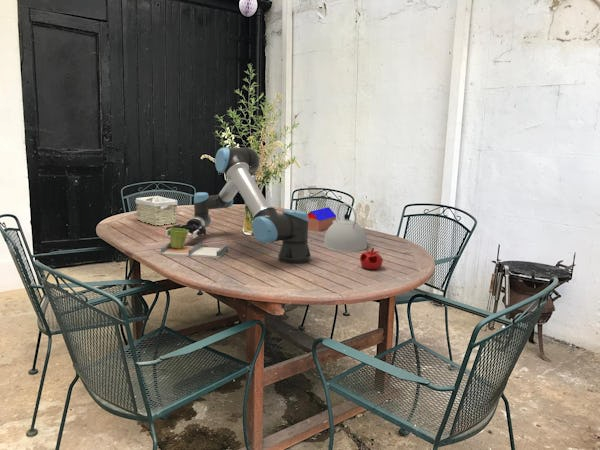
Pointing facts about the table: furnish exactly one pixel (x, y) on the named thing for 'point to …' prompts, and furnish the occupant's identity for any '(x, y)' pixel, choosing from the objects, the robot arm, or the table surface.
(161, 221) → the storage basket
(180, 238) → the plant pot
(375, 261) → the pomegranate
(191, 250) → the slot board
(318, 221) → the house
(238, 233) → the table surface
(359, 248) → the kettle
